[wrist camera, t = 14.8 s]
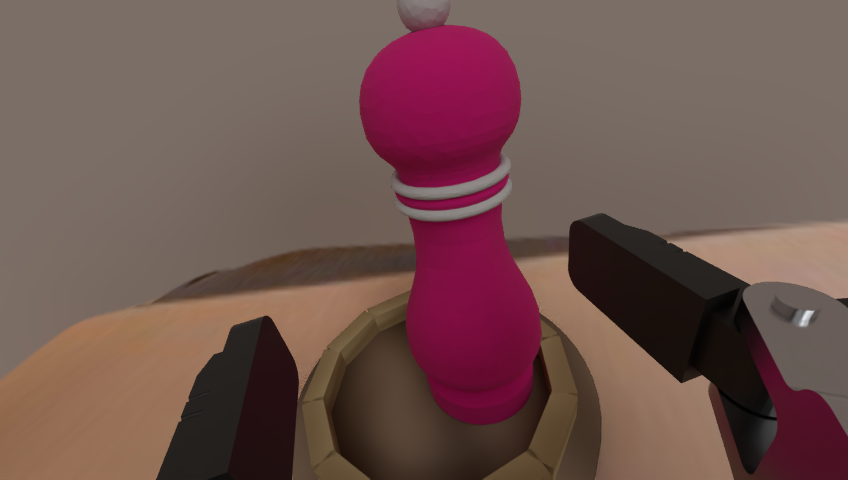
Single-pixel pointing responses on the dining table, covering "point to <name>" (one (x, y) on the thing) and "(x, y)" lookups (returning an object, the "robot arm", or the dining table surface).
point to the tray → (438, 414)
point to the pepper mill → (456, 208)
